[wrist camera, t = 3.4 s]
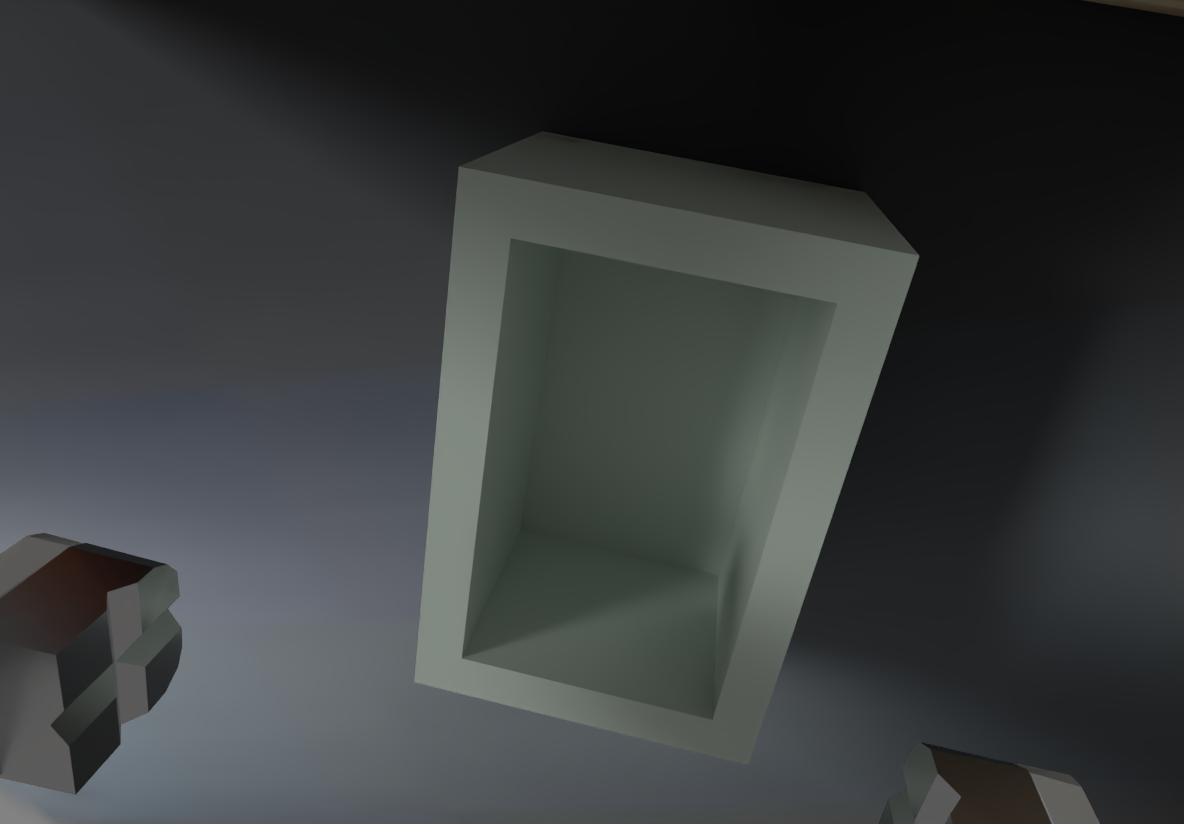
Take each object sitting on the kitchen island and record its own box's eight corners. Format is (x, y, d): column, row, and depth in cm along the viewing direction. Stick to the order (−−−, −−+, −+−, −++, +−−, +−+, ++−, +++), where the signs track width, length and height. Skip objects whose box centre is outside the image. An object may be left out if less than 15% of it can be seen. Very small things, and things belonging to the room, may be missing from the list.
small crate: (865, 192, 15) (919, 256, 10) (746, 591, 19) (748, 765, 14) (542, 130, 15) (458, 166, 11) (491, 532, 19) (414, 682, 15)
